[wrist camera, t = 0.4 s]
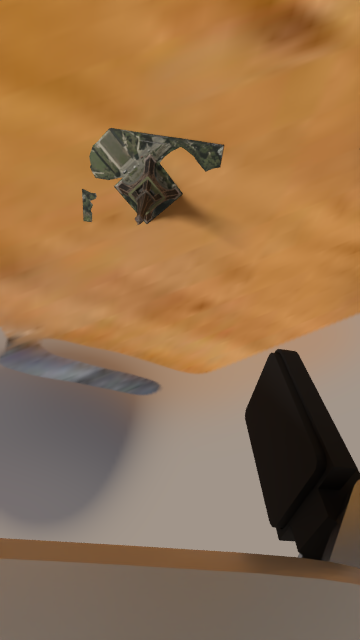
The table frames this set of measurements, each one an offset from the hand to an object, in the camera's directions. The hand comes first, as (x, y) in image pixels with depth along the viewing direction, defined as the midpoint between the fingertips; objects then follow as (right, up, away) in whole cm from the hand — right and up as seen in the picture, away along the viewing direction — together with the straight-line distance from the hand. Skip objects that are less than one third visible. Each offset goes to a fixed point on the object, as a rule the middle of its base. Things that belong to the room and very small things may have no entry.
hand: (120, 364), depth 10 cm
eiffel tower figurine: (-1, +17, +26) cm, 31 cm away
